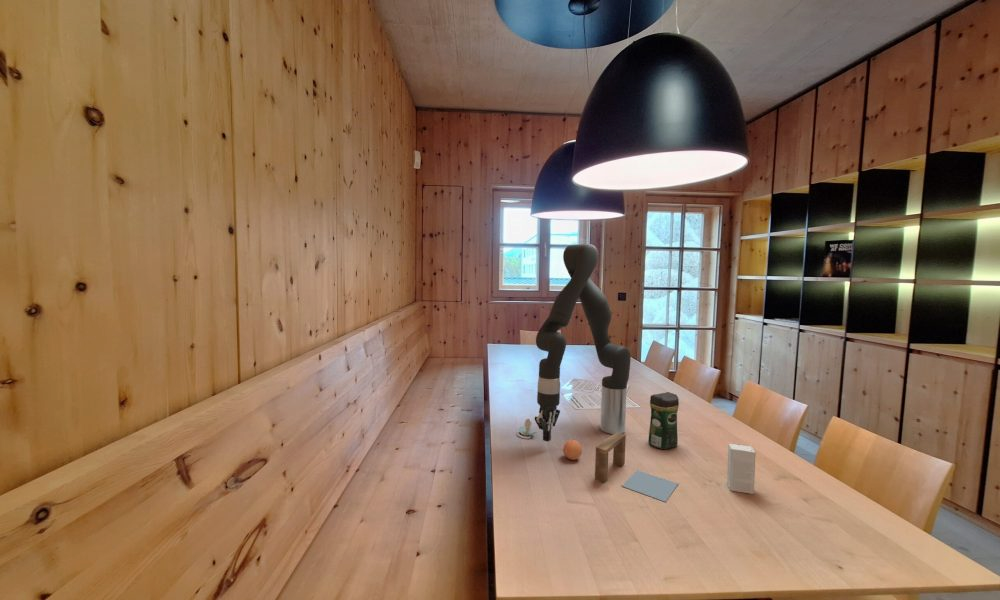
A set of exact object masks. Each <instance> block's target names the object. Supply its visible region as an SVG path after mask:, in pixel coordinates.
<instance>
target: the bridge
mask: <svg viewBox="0 0 1000 600" xmlns="http://www.w3.org/2000/svg"><path fill="white" fill-rule="evenodd" d="M626 436H627V434H625V433H618V432H616V433H615V434H611V436H610V437H608V438H607V439H605V440H603V442H601V443H599V444H598V445H596V446H595V462H594V463H595V466H594V467H595V468H594V481H597V482H601V483H603V484H605V483H606V482H607V481H608V476H609V475H608V472H609V452H610V451H613V453H612V454H613V455H612V464H613V465H616V466H618V465H619V467H624V466H625V465H626V463H625V461H626V438H627V437H626ZM624 464H625V465H624Z"/></svg>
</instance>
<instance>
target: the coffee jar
mask: <svg viewBox="0 0 1000 600" xmlns="http://www.w3.org/2000/svg"><path fill="white" fill-rule="evenodd" d="M649 400H650V401H649V406H650V424H649V433H648V443H649V444H650V445H651V446H653V448H656V449H660V450H661V449H662V450H668V449H672V448H675V447H676V446H678V441H679V440H678V410H679V408H680V407H679V406H680V403H679V402H680V401H679V400H680V399H679V396H678V395H677V394H676V393H673V392H668V391H666V392H662V393H657V394H656V393H655V394H651V395H650V399H649Z"/></svg>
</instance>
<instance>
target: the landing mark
mask: <svg viewBox="0 0 1000 600" xmlns="http://www.w3.org/2000/svg"><path fill="white" fill-rule="evenodd" d="M677 485H678V486H679V483H677V482H674V481H672V480H669V479H666V478H662V477H658V476H657V475H656V476H655V475H654V474H650V473H648V472H647V473H646V472H644V471H641V470H638V469H637V470H635V472H633V474H632V475H631V476H630V477H629V478H628V479H627V480H626V481H625V482H624V483H623V484H621V488H624V489H627V490H630V491H632V492H635V491H636V492H637V493H639V494H641V495H644V496H646V497H650V498H653V499H654V500H655V499H656V500H658V501H661V502H663V503H666V502H667V501H668V500H669V498H671V495H672V494H673V493H674V491H675V490H676V489H677V487H678V486H677Z"/></svg>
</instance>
